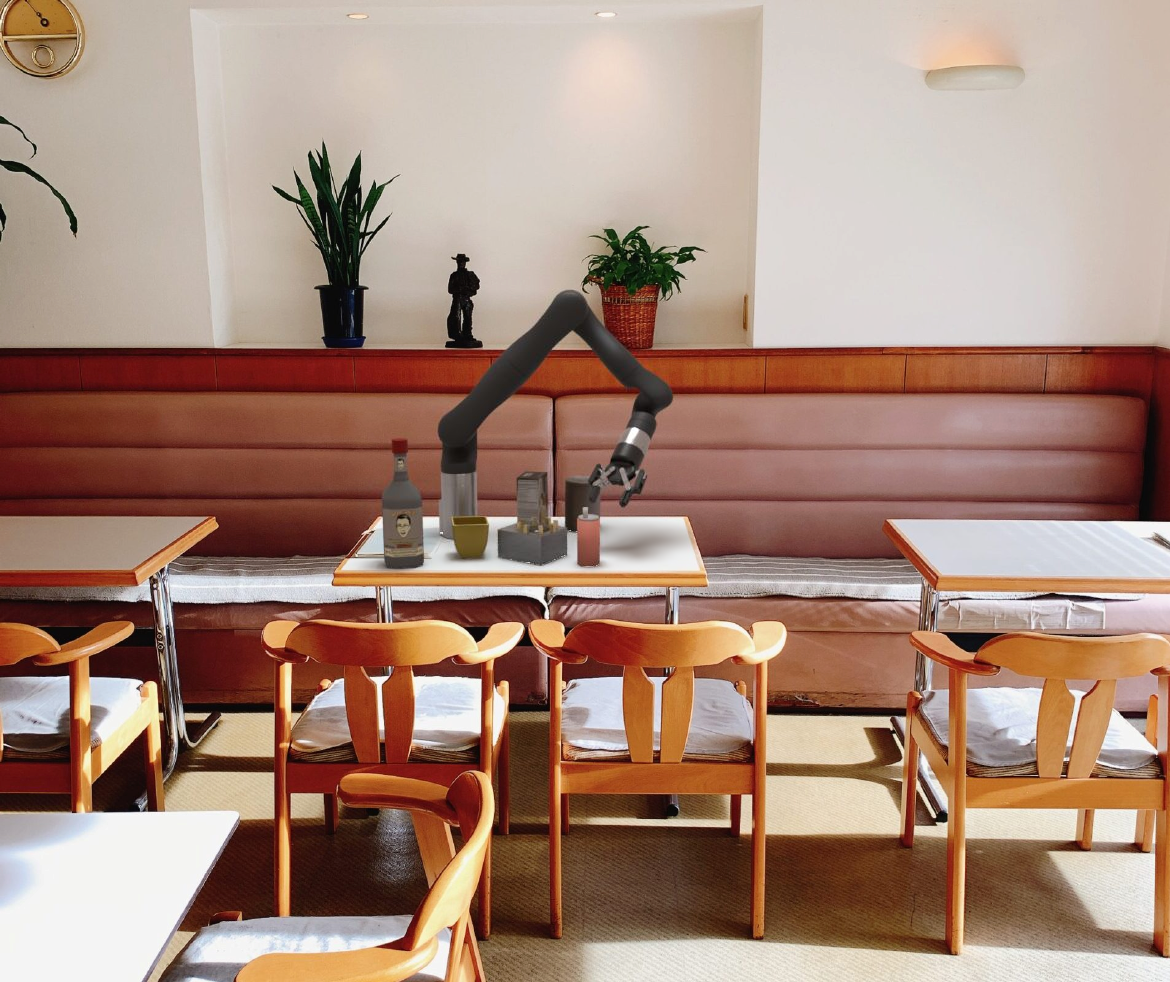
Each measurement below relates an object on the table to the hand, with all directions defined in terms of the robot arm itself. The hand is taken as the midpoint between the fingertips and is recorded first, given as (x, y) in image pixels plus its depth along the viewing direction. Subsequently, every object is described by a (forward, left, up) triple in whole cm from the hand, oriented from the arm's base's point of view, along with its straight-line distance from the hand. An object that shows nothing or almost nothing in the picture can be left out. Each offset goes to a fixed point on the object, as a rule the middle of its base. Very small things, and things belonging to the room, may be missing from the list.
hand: (606, 503), depth 253 cm
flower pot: (-28, -18, -13) cm, 36 cm away
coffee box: (-28, +8, -13) cm, 32 cm away
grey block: (-17, -10, -13) cm, 23 cm away
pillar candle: (-20, +20, -13) cm, 31 cm away
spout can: (0, -8, -13) cm, 15 cm away
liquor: (-37, -32, -13) cm, 51 cm away
